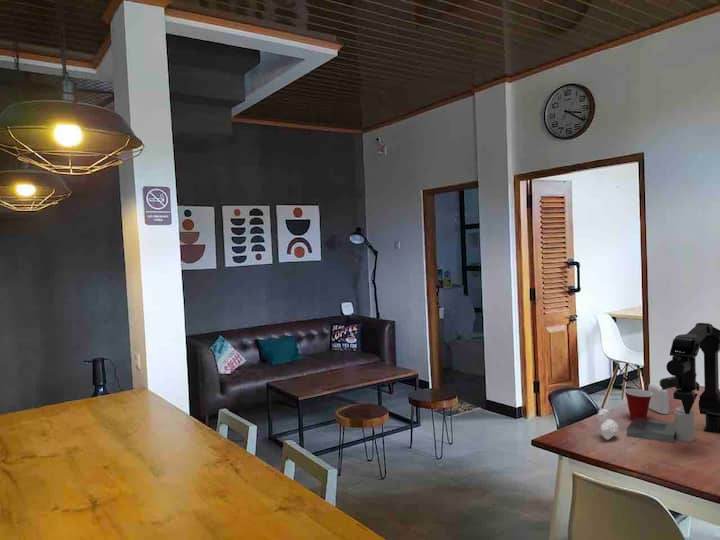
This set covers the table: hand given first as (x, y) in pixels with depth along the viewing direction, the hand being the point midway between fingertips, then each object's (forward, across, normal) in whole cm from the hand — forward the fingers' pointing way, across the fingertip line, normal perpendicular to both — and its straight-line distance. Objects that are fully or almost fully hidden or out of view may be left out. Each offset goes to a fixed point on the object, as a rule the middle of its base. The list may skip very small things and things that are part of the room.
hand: (687, 413), depth 197 cm
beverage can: (+14, -10, -2) cm, 17 cm away
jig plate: (+13, -12, -13) cm, 22 cm away
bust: (+13, +2, -26) cm, 30 cm away
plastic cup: (+13, -28, -21) cm, 37 cm away
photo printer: (+13, -44, -16) cm, 48 cm away
